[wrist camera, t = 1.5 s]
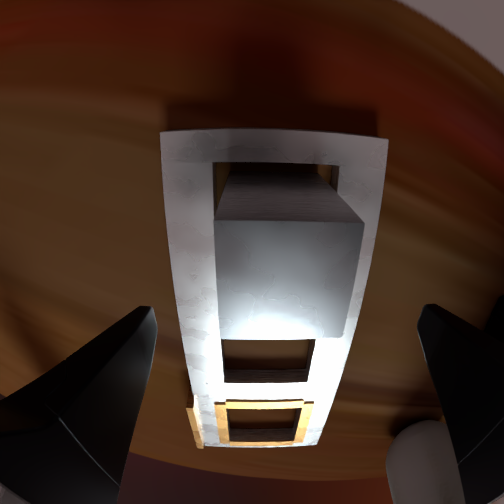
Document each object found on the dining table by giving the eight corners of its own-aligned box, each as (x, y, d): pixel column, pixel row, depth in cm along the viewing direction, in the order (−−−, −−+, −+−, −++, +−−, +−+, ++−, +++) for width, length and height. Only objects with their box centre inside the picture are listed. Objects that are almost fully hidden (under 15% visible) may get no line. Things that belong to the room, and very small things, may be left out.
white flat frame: (378, 136, 16) (395, 141, 14) (314, 433, 29) (317, 451, 27) (157, 130, 16) (143, 134, 14) (201, 434, 29) (198, 451, 27)
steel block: (318, 173, 17) (365, 223, 10) (311, 251, 19) (341, 337, 12) (230, 171, 17) (213, 220, 10) (231, 250, 19) (220, 338, 12)
